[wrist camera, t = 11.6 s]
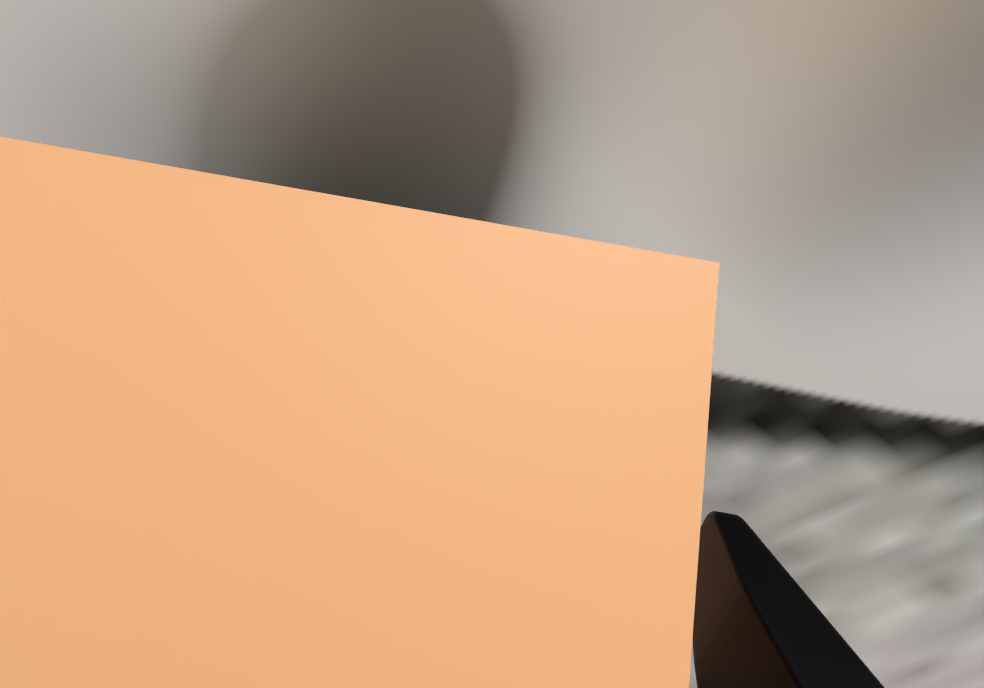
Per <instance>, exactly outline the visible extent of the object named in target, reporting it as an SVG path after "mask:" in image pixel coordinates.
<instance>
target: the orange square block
mask: <svg viewBox="0 0 984 688" xmlns="http://www.w3.org/2000/svg"><path fill="white" fill-rule="evenodd" d="M718 275H719V263H718V262H712V261H706V260H700V259H695V258H689V257H684V256H678V255H672V254H667V253H661V252H655V251H649V250H643V249H638V248H632V247H626V246H621V245H615V244H610V243H604V242H598V241H593V240H586V239H581V238H575V237H570V236H564V235H558V234H552V233H547V232H541V231H535V230H529V229H524V228H518V227H513V226H506V225H501V224H495V223H490V222H484V221H479V220H473V219H467V218H461V217H456V216H449V215H444V214H439V213H433V212H427V211H421V210H415V209H410V208H404V207H398V206H393V205H387V204H381V203H376V202H370V201H364V200H358V199H353V198H347V197H342V196H336V195H330V194H324V193H319V192H313V191H307V190H301V189H296V188H290V187H285V186H278V185H273V184H267V183H262V182H256V181H250V180H244V179H239V178H233V177H228V176H222V175H216V174H211V173H205V172H199V171H193V170H188V169H182V168H176V167H171V166H165V165H159V164H154V163H148V162H142V161H136V160H131V159H125V158H119V157H113V156H108V155H102V154H96V153H91V152H84V151H79V150H73V149H68V148H62V147H57V146H51V145H45V144H40V143H33V142H28V141H22V140H17V139H11V138H5V137H0V688H689V679H690V665H691V651H692V637H693V623H694V610H695V596H696V582H697V568H698V554H699V540H700V526H701V512H702V499H703V485H704V471H705V457H706V443H707V429H708V415H709V401H710V387H711V374H712V360H713V359H712V358H713V346H714V331H715V317H716V304H717V290H718Z"/></svg>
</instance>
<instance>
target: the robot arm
mask: <svg viewBox="0 0 984 688" xmlns="http://www.w3.org/2000/svg"><path fill="white" fill-rule="evenodd" d="M693 652H694V665H695V672H696V680H697V686H698V688H884V686H883V685H882V684H881V683H880V682H879V681H878V679H877V678H876V677H875V676H874V675H873V673H872V672H871V671H870V670H869V669H868V667H867V666H866V665H865V664H864V663H863V661H862V660H861V659H860V658H859V657H858V655H857V654H856V653H855V652H854V651H853V650H852V648H851V647H850V646H849V645H848V644H847V642H846V641H845V640H844V639H843V638H842V636H841V635H840V634H839V633H838V632H837V630H836V629H835V628H834V627H833V626H832V624H831V623H830V622H829V621H828V620H827V619H826V617H825V616H824V615H823V614H822V613H821V611H820V610H819V609H818V608H817V607H816V605H815V604H814V603H813V602H812V601H811V599H810V598H809V597H808V596H807V595H806V593H805V592H804V591H803V590H802V589H801V588H800V586H799V585H798V584H797V583H796V582H795V580H794V579H793V578H792V577H791V576H790V574H789V573H788V572H787V571H786V570H785V568H784V567H783V566H782V565H781V564H780V562H779V561H778V560H777V559H776V558H775V557H774V555H773V554H772V553H771V552H770V551H769V549H768V548H767V547H766V546H765V545H764V543H763V542H762V541H761V540H760V539H759V537H758V536H757V535H756V534H755V533H754V531H753V530H752V529H751V528H750V527H749V526H748V524H747V523H746V522H745V521H744V520H743V519H742V518H741V517H739V516H737V515H734V514H728V513H723V512H717V511H712V512H710V513H709V514H708V515H707V516H706V518H705V520H704V522H703V524H702V525H701V527H700V540H699V554H698V568H697V582H696V596H695V610H694V623H693Z"/></svg>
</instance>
